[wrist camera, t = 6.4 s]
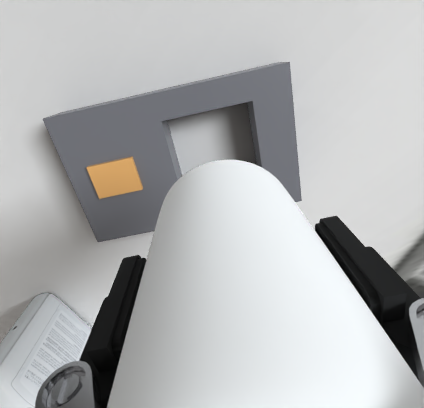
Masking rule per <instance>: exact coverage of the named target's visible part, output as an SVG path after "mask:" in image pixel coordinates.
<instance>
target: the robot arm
mask: <svg viewBox="0 0 424 408" xmlns="http://www.w3.org/2000/svg"><path fill="white" fill-rule="evenodd" d="M315 231H316V233H317V234H318V236H319V237H320V238H321V240H322V241H323V243H324V244H325V246H326V247H327V248H328V250H329V251H330V253H331V254H332V256H333V257H334V259H335V260H336V261H337V263H338V264H339V266H340V267H341V269H342V270H343V271H344V273H345V274H346V276H347V277H348V279H349V280H350V282H351V283H352V284H353V286H354V287H355V289H356V290H357V292H358V293H359V295H360V296H361V297H362V299H363V300H364V302H365V303H366V305H367V306H368V308H369V309H370V311H371V312H372V313H373V315H374V316H375V318H376V319H377V321H378V322H379V324H380V325H381V326H382V328H383V329H384V331H385V332H386V334H387V335H388V337H389V338H390V340H391V341H392V342H393V344H394V345H395V347H396V348H397V350H398V351H399V353H400V354H401V356H402V357H403V359H404V360H405V362H406V363H407V364H408V366H409V367H410V369H411V370H412V372H413V373H414V375H415V376H416V378H417V379H418V381H419V382H420V384H421V385H422V387H423V388H424V298H423V299H421V298H420V297H419V296H418V295H417V294H416V293H415V292H414V291H413V290H412V289H411V288H410V287H409V286H408V285H407V283H406V282H405V281H404V280H403V279H402V278H401V277H400V276H399V275H398V274H397V273H396V272H395V271H394V270H393V269H392V268H391V267H390V265H389V264H388V263H387V262H386V261H385V260H384V259H383V258H382V257H381V256H380V255H379V254H378V253H377V252H376V251H375V250H374V249H373V248H372V247H365V246H364V245H363V244H362V243H361V242H360V241H359V240H358V239H357V237H356V236H355V235H354V234H353V233H352V232H351V231H350V230H349V229H348V228H347V226H346V225H345V224H344V223H343V222H342V221H341V220H340V219H339V218H338V217H337V216H333V217H328V218H323V219H320V223H318V224H315ZM145 263H146V259H145V258H141V257H140V256H139V255H137V256H131V257H126V258H124V259H123V260H122V263H121V265H120V268H119V270H118V273H117V275H116V278H115V280H114V283H113V285H112V288H111V291H110V293H109V296H108V297H106V298H105V299H104V301H103V303H102V306H101V308H100V310H99V313H98V315H97V318H96V320H95V323H94V325H93V328H92V330H91V333H90V335H89V337H88V340H87V342H86V345H85V347H84V350H83V352H82V355H81V357H80V359H79V361H73V362H70V363H67V364H65V365H63V366H61V367H60V368H58V369H57V370H55V371H54V372H53V373H52V374H51V375H50V376H49V377H48V378H47V379H46V380H45V382H44V383H43V384H42V386H41V388H40V389H39V391H38V394H37V397H36V402H35V408H107V405H108V401H109V397H110V394H111V390H112V386H113V382H114V378H115V375H116V371H117V367H118V363H119V360H120V356H121V352H122V348H123V345H124V341H125V337H126V334H127V330H128V326H129V322H130V319H131V315H132V311H133V308H134V304H135V300H136V296H137V293H138V289H139V285H140V282H141V278H142V274H143V271H144V267H145Z"/></svg>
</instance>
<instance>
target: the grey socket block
mask: <svg viewBox="0 0 424 408" xmlns="http://www.w3.org/2000/svg"><path fill="white" fill-rule="evenodd" d="M245 102H247V104H248V110H249V117H250V124H251V130H252V137H253V144H254V150H255V157H256V163H257V166H260V167H262V168H263V169H265V170H267V171H268V172H270V173H271V174H272V175H273V176H275V177H276V178H277V179H278V180H279V181H280V183H281V184H282V185H283V186H284V188H285V189H286V190H287V192H288V193H289V194H290V196H291V197H292V199H293V200H294V201H295V202H298V201H302V200H301V188H300V177H299V165H298V153H297V142H296V130H295V119H294V107H293V95H292V84H291V72H290V62H278V63H274V64H269V65H265V66H261V67H256V68H252V69H248V70H243V71H239V72H235V73H230V74H226V75H222V76H217V77H213V78H209V79H204V80H200V81H196V82H191V83H187V84H183V85H178V86H174V87H170V88H165V89H161V90H157V91H152V92H148V93H144V94H139V95H135V96H131V97H126V98H122V99H118V100H113V101H109V102H105V103H100V104H96V105H92V106H87V107H83V108H79V109H74V110H70V111H66V112H61V113H58V114H55V115H52V116H50V117H47V118H44V119H43V121H44V123H45V125H46V128H47V130H48V132H49V134H50V137H51V139H52V141H53V143H54V145H55V148H56V150H57V152H58V154H59V157H60V159H61V161H62V163H63V165H64V168H65V170H66V172H67V174H68V177H69V179H70V181H71V183H72V186H73V188H74V190H75V192H76V194H77V197H78V199H79V201H80V203H81V206H82V208H83V210H84V212H85V215H86V217H87V219H88V221H89V223H90V226H91V228H92V230H93V232H94V235H95V237H96V239H97V241H98V242H102V241H107V240H112V239H117V238H121V237H126V236H131V235H136V234H141V233H146V232H151V231H155V227H156V224H157V220H158V217H159V213H160V210H161V207H162V204H163V201H164V199H165V197H166V195H167V193H168V192H169V190H170V189H171V187H172V186H173V185H174V183H175V182H176V181H177V180H178V179H179V178H180V177H182V174H181V170H180V166H179V163H178V159H177V155H176V151H175V148H174V144H173V140H172V137H171V133H170V129H169V126H168V122H167V120H170V119H174V118H178V117H183V116H187V115H192V114H196V113H201V112H205V111H210V110H214V109H219V108H223V107H227V106H232V105H236V104H241V103H245Z"/></svg>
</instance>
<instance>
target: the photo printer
mask: <svg viewBox="0 0 424 408" xmlns="http://www.w3.org/2000/svg"><path fill="white" fill-rule="evenodd" d="M91 330H92V329H91V328H90V327H89V326H88V325H87V324H86V323H85V322H84V321H83V320H82V319H80V318H79V317H78V316H77V315H76V314H75V313H74V312H73V311H72V310H71V309H70V308H69V307H68V306H67V305H65V304H64V303H63V302H62V301H61V300H60V299H58V298H57V297H56V296H54V295H53V294H49V293H43V294H39V295H37V296H36V297H34V299H33V300H32V301H31V302H30V304H29V305H28V306H27V308H26V309H25V311H24V312H23V313H22V315H21V316H20V317H19V319H18V320H17V321H16V323H15V324H14V325H13V327H12V328H11V329H10V331H9V332H8V333H7V335H6V336H5V338H4V339H3V340H2V342H1V343H0V408H35V402H36V397H37V394H38V391H39V389H40V388H41V386H42V384H43V383H44V382H45V380H46V379H47V378H48V377H49V376H50V375H51V374H52V373H53V372H54V371H55V370H57V369H58V368H60V367H61V366H63V365H65V364H67V363H70V362H73V361H79V359H80V357H81V355H82V352H83V350H84V347H85V345H86V342H87V340H88V337H89V335H90V333H91Z"/></svg>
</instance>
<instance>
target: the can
mask: <svg viewBox="0 0 424 408" xmlns="http://www.w3.org/2000/svg"><path fill="white" fill-rule="evenodd" d="M107 408H424V388H423V387H422V385H421V384H420V382H419V381H418V379H417V378H416V376H415V375H414V373H413V372H412V370H411V369H410V367H409V366H408V364H407V363H406V362H405V360H404V359H403V357H402V356H401V354H400V353H399V351H398V350H397V348H396V347H395V345H394V344H393V342H392V341H391V340H390V338H389V337H388V335H387V334H386V332H385V331H384V329H383V328H382V326H381V325H380V324H379V322H378V321H377V319H376V318H375V316H374V315H373V313H372V312H371V311H370V309H369V308H368V306H367V305H366V303H365V302H364V300H363V299H362V297H361V296H360V295H359V293H358V292H357V290H356V289H355V287H354V286H353V284H352V283H351V282H350V280H349V279H348V277H347V276H346V274H345V273H344V271H343V270H342V269H341V267H340V266H339V264H338V263H337V261H336V260H335V259H334V257H333V256H332V254H331V253H330V251H329V250H328V248H327V247H326V246H325V244H324V243H323V241H322V240H321V238H320V237H319V236H318V234H317V233H316V231H315V230H314V228H313V227H312V226H311V224H310V223H309V221H308V220H307V218H306V217H305V216H304V214H303V213H302V211H301V210H300V208H299V207H298V206H297V204H296V203H295V201H294V200H293V199H292V197H291V196H290V194H289V193H288V192H287V190H286V189H285V188H284V186H283V185H282V184H281V183H280V181H279V180H278V179H277V178H276V177H275V176H273V175H272V174H271V173H270V172H268V171H267V170H265V169H263V168H262V167H260V166H257V165H255V164H252V163H249V162H245V161H240V160H218V161H212V162H208V163H205V164H202V165H200V166H198V167H195V168H194V169H192V170H190V171H188V172H187V173H186V174H184V175H183V176H182V177H180V178H179V179H178V180H177V181H176V182H175V183H174V185H173V186H172V187H171V189H170V190H169V192H168V193H167V195H166V197H165V199H164V201H163V204H162V207H161V210H160V213H159V217H158V220H157V224H156V227H155V231H154V234H153V238H152V242H151V245H150V249H149V252H148V256H147V260H146V263H145V267H144V271H143V274H142V278H141V282H140V285H139V289H138V293H137V296H136V300H135V304H134V308H133V311H132V315H131V319H130V322H129V326H128V330H127V334H126V337H125V341H124V345H123V348H122V352H121V356H120V360H119V363H118V367H117V371H116V375H115V378H114V382H113V386H112V390H111V394H110V397H109V401H108V405H107Z"/></svg>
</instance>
